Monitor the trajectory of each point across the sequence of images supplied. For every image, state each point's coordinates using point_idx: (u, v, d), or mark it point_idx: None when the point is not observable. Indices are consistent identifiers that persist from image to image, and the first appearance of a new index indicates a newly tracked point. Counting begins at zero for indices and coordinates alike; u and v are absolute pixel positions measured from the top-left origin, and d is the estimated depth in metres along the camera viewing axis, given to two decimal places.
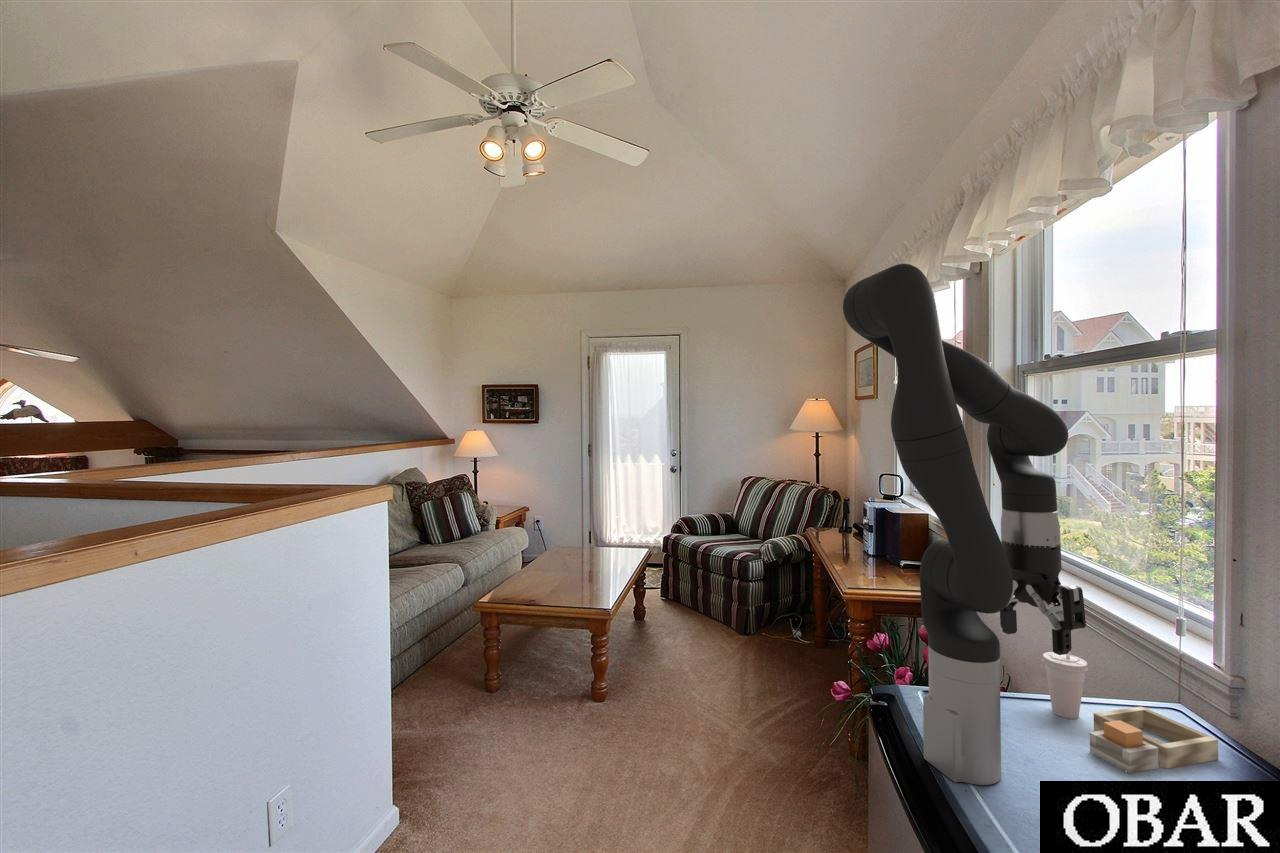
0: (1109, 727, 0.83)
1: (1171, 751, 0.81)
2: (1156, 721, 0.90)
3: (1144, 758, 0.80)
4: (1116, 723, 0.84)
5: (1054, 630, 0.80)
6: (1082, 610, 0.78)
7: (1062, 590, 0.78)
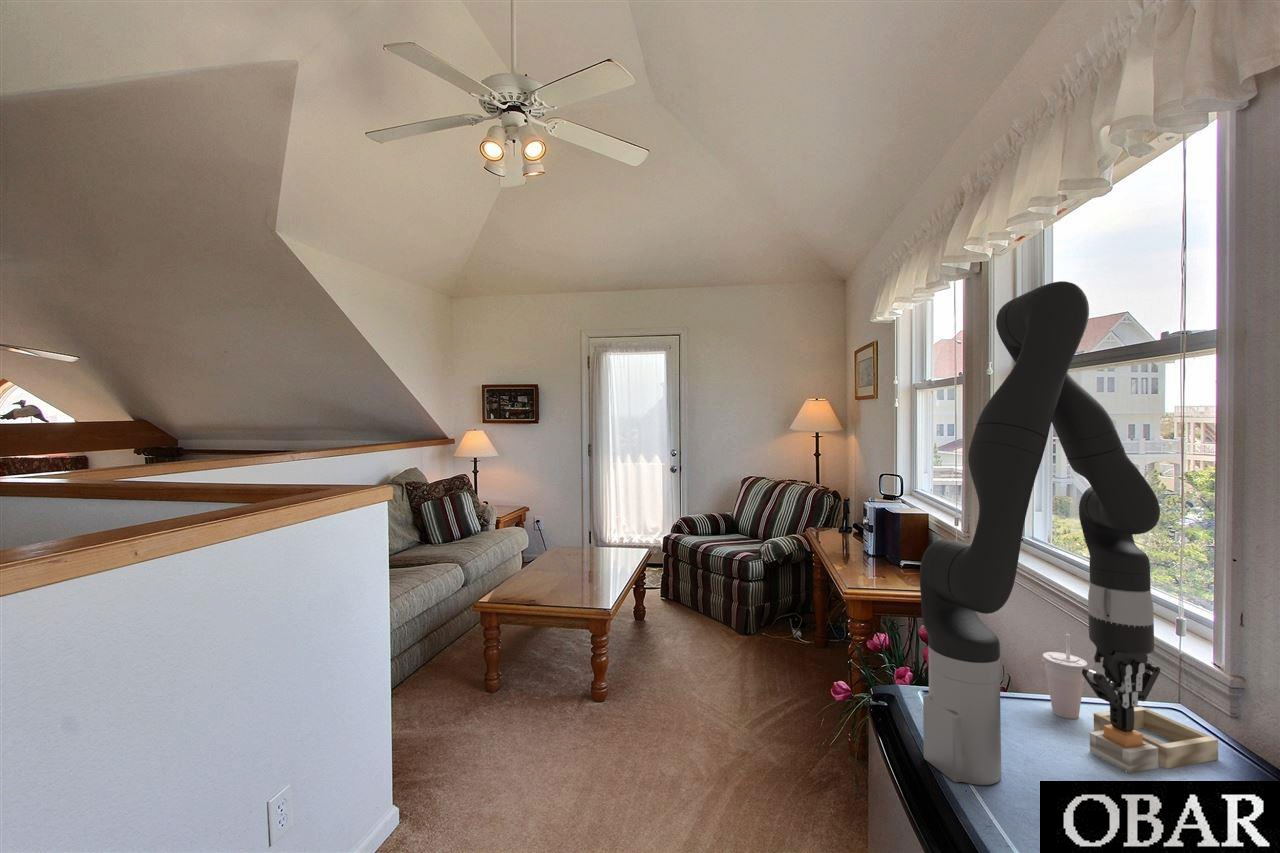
0: (1109, 730, 0.83)
1: (1171, 751, 0.81)
2: (1156, 721, 0.90)
3: (1144, 758, 0.80)
4: None
5: (1131, 708, 0.82)
6: None
7: (1156, 668, 0.83)
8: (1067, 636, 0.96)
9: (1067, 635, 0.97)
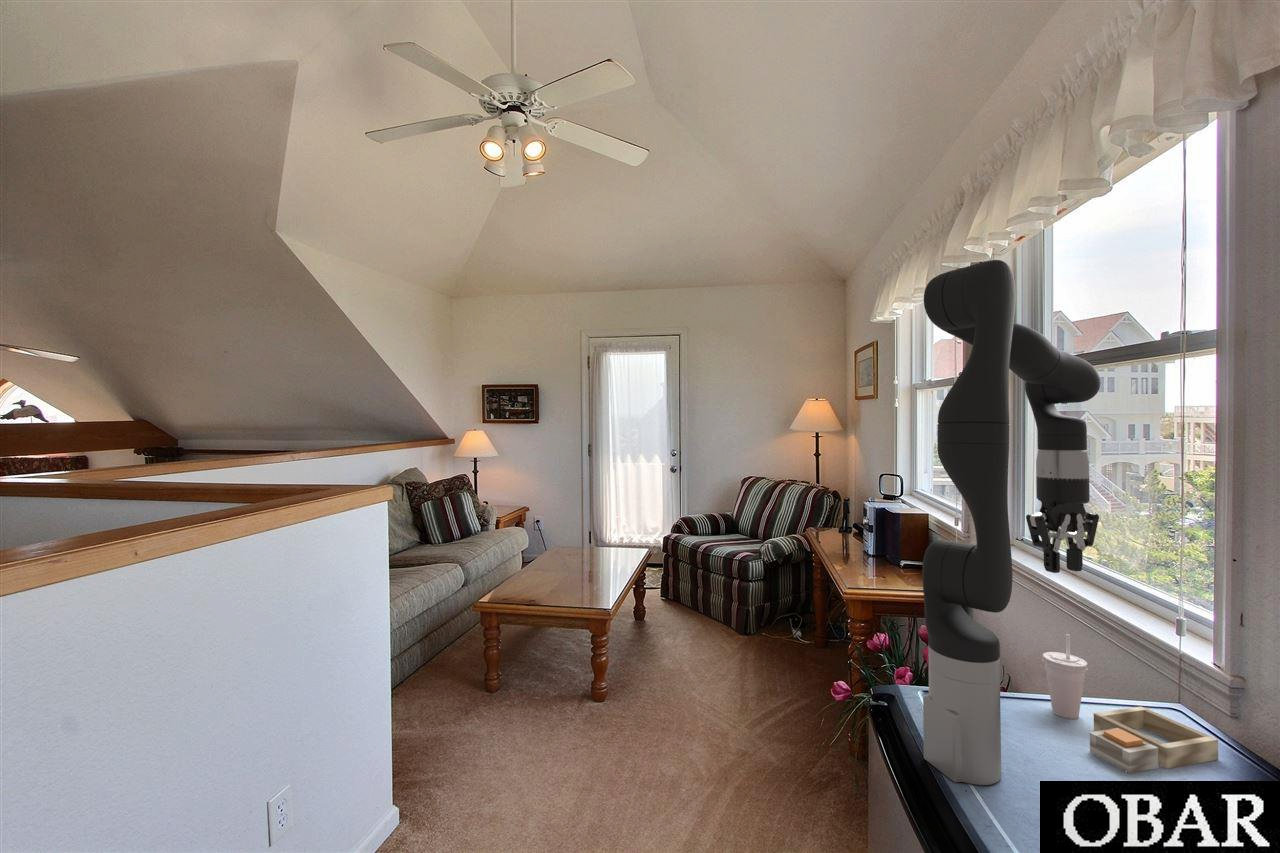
0: (1109, 736, 0.83)
1: (1171, 751, 0.81)
2: (1156, 721, 0.90)
3: (1144, 758, 0.80)
4: (1116, 732, 0.84)
5: (1080, 551, 0.96)
6: (1084, 530, 0.99)
7: (1095, 516, 0.97)
8: (1067, 636, 0.96)
9: (1067, 635, 0.97)
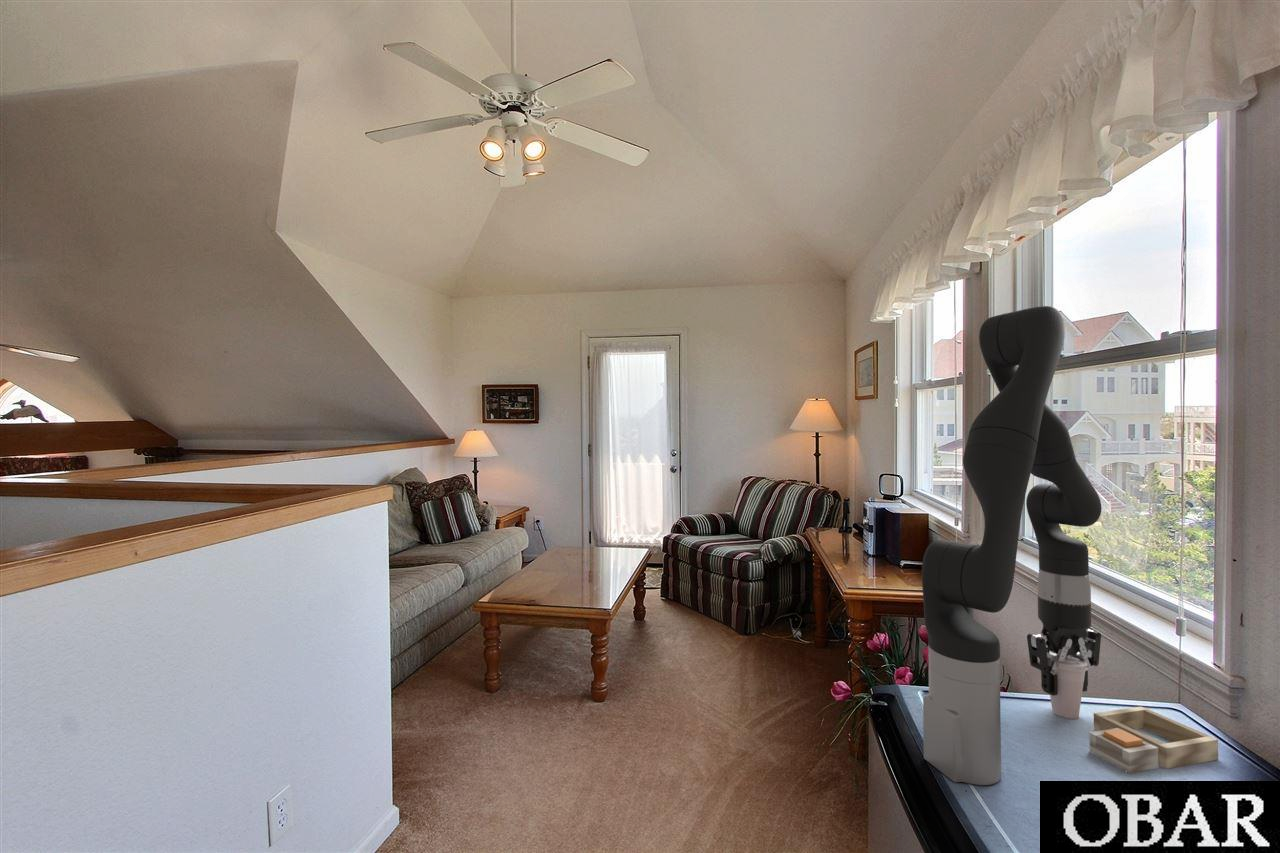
0: (1109, 736, 0.83)
1: (1171, 751, 0.81)
2: (1156, 721, 0.90)
3: (1144, 758, 0.80)
4: (1116, 732, 0.84)
5: (1085, 672, 0.96)
6: None
7: (1097, 635, 0.97)
8: None
9: None
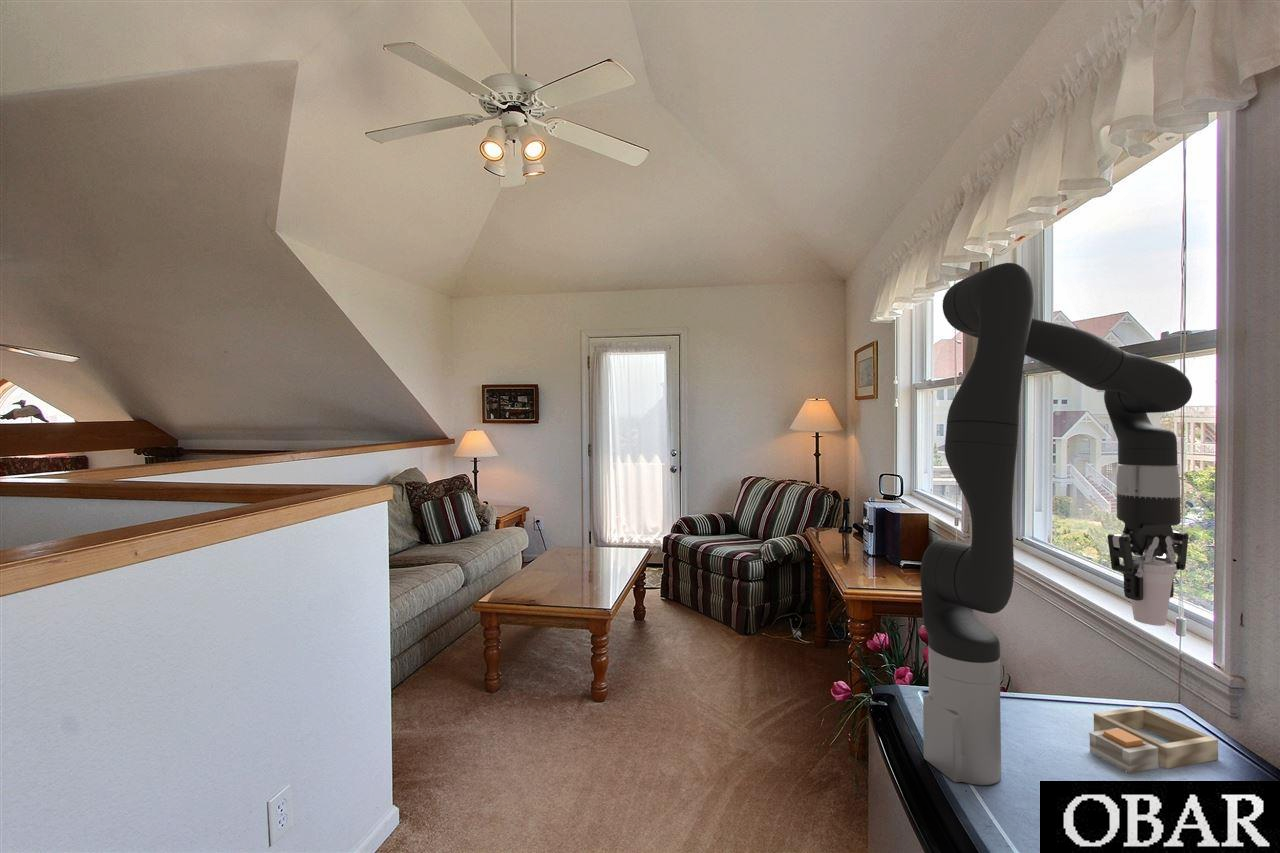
0: (1109, 736, 0.83)
1: (1171, 751, 0.81)
2: (1156, 721, 0.90)
3: (1144, 758, 0.80)
4: (1116, 732, 0.84)
5: None
6: None
7: (1184, 535, 0.87)
8: None
9: None
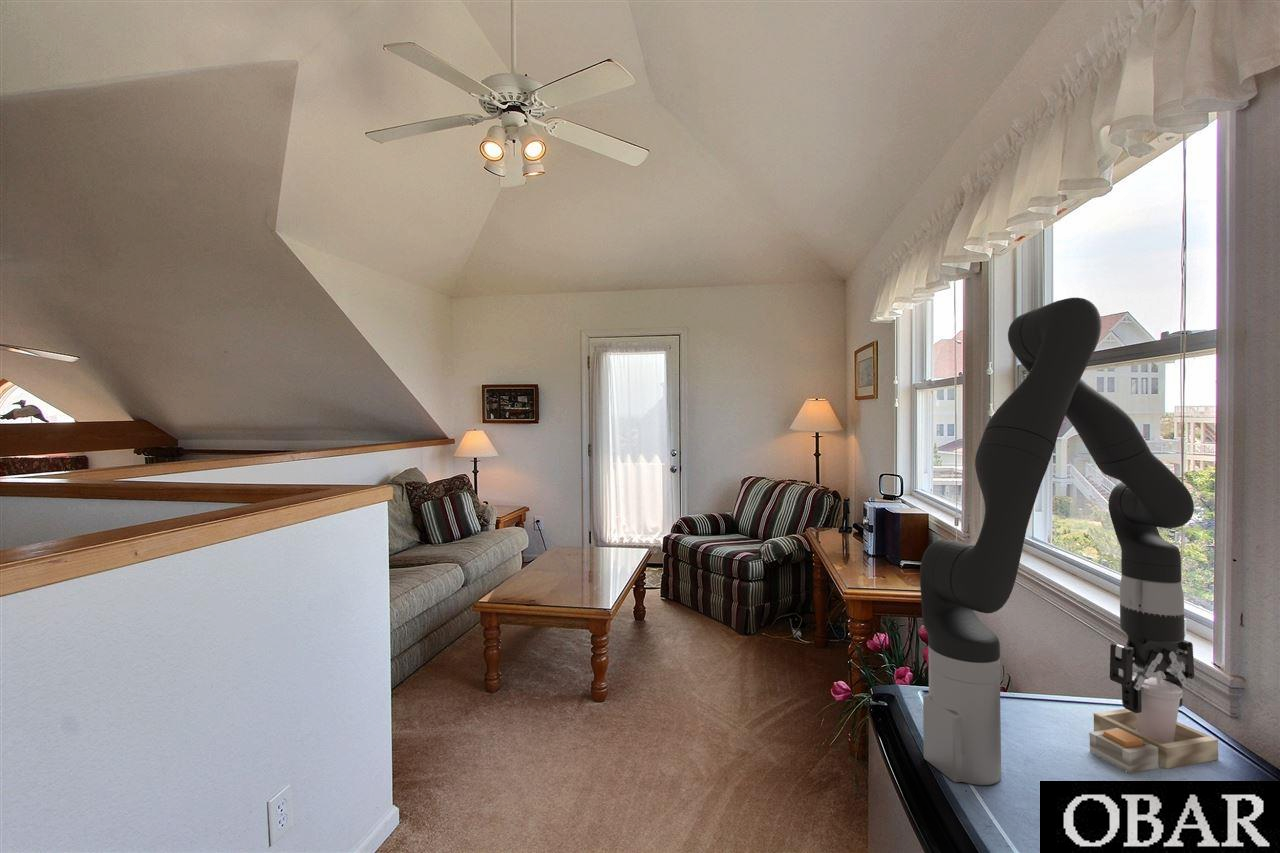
0: (1109, 736, 0.83)
1: (1171, 751, 0.81)
2: None
3: (1144, 758, 0.80)
4: (1116, 732, 0.84)
5: (1180, 685, 0.87)
6: None
7: (1188, 645, 0.87)
8: None
9: None
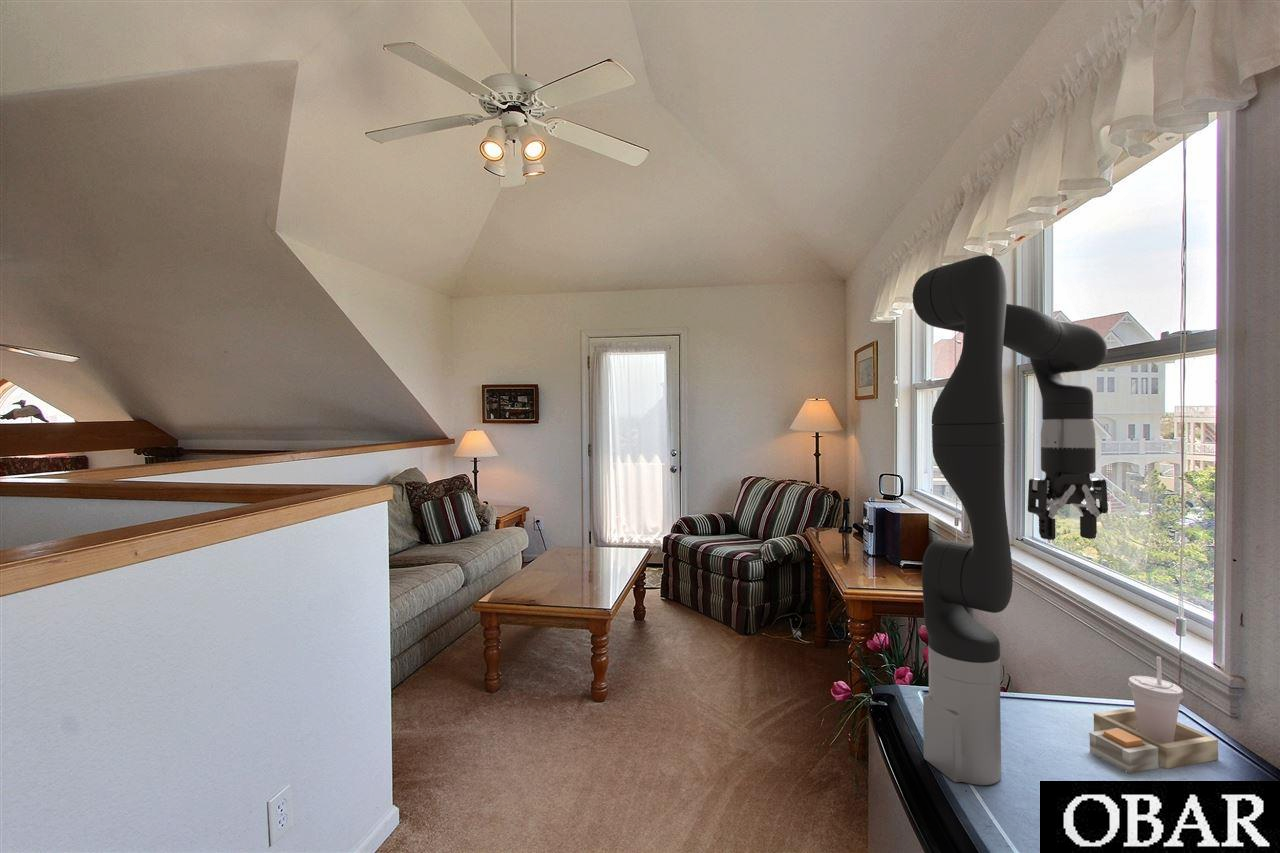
0: (1109, 736, 0.83)
1: (1171, 751, 0.81)
2: None
3: (1144, 758, 0.80)
4: (1116, 732, 0.84)
5: (1094, 518, 0.94)
6: None
7: (1102, 482, 0.95)
8: (1158, 659, 0.86)
9: (1158, 657, 0.87)
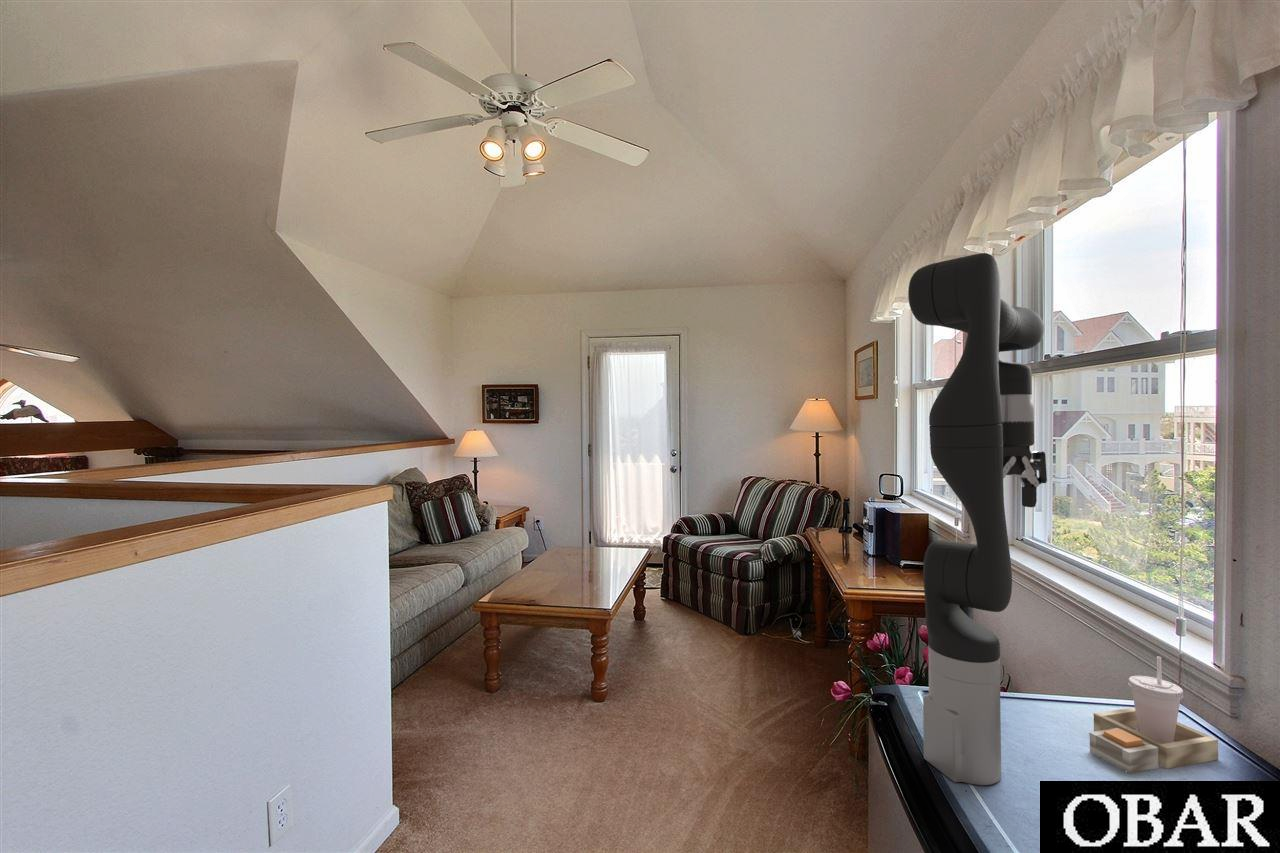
0: (1109, 736, 0.83)
1: (1171, 751, 0.81)
2: None
3: (1144, 758, 0.80)
4: (1116, 732, 0.84)
5: (1033, 488, 1.01)
6: None
7: (1041, 454, 1.01)
8: (1158, 659, 0.87)
9: (1158, 657, 0.87)
